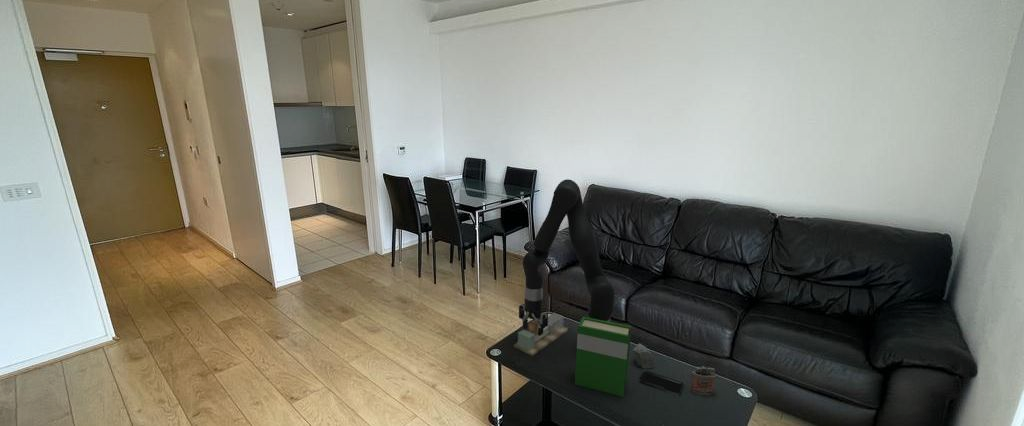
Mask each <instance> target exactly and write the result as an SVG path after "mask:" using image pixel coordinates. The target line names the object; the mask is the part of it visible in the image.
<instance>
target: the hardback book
mask: <svg viewBox="0 0 1024 426" xmlns="http://www.w3.org/2000/svg"><path fill="white" fill-rule="evenodd" d="M631 336H632V326H631V325H627V324H622V323H616V322H612V321H610V322H607V321H602V320H597V319H592V318H588V316H587V317H586V316H582V318H581V320H580V322H579V323H578V325H577V337H576V338H577V339H576V358H575V370H574V371H575V374H574V385H577V386H581V387H584V388H588V389H593V390H595V391H600V392H603V393H608V394H612V395H615V396H619V397H622V398H624V394H625V387H626V386H627V381H628V380H627V379H628V371H629V370H628V369H629V358H630V348H631Z"/></svg>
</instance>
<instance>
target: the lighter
mask: <svg viewBox="0 0 1024 426" xmlns="http://www.w3.org/2000/svg"><path fill="white" fill-rule="evenodd" d="M715 371H716V369H715V368H714V367H705V365H702V366H701V367H700V366H696V367H695V370H692V371H691V375H692V376H691V383H690V387H689V392H691V393H693V394H696V395H703V396H713V395H714V393H715V392H714V390H715V383H716V378H717V375H716V372H715Z"/></svg>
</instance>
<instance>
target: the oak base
mask: <svg viewBox="0 0 1024 426" xmlns="http://www.w3.org/2000/svg"><path fill="white" fill-rule="evenodd" d="M568 331H569V328H568V327H566V326H563V328H562V329H560V330H559V331H557V332H556V333H554V334H553V335H551V336H550V335H548V334H547V335H545V336H544V337H542V338H541V339H540V340H538V341H537V342H535V347H534V348H533V349H532V350H531V351H527V350H525V349H523V348H521V347H519V346H518V341H517V342H516V343H514V344H513V348H515V349H517V350H519V351H521V352H523V353H525V354H527V355H529V356H532V357H533V356H535V355H536V354H537V353H539V352H540V351H542V350H543V349H544V348H545V347H547V346H548V345H550V344H551V343H553V342H554V341H555V340H557V339H558V338H560V337H561V336H563V335H564V334H566V333H567V332H568Z"/></svg>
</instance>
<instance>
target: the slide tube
mask: <svg viewBox="0 0 1024 426" xmlns="http://www.w3.org/2000/svg"><path fill="white" fill-rule="evenodd" d="M538 328H539V327H538V325H537V323H536V322H535V320H533V319H531V320H528V331H529V332H531V333H533V334H535V342H537V341H538V340H540V339H541V338H542V337H544V336H545V335H547V334H548V333H550V326H549V325H548V326H547V327H545V328H543V334H542V335H540V336H539V335H538Z"/></svg>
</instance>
